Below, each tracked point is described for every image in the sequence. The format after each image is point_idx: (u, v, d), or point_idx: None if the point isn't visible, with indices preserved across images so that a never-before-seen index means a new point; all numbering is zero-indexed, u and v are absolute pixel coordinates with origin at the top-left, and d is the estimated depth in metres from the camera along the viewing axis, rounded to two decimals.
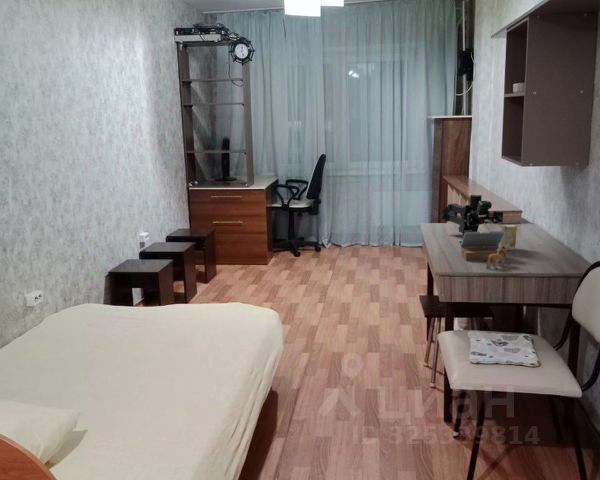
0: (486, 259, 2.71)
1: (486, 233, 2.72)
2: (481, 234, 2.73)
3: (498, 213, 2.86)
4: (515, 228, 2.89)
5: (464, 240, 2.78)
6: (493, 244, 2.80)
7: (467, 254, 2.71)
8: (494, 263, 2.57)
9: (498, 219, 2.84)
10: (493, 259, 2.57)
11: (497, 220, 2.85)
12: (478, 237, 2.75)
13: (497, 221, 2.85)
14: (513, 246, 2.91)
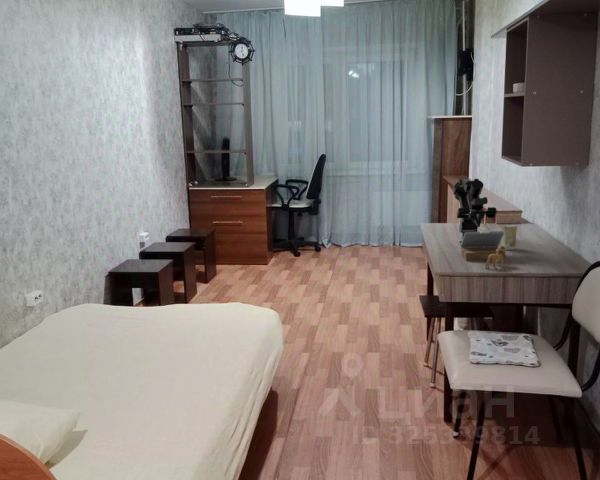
0: (486, 259, 2.71)
1: (486, 233, 2.72)
2: (481, 234, 2.73)
3: (481, 213, 2.84)
4: (515, 228, 2.89)
5: (464, 240, 2.78)
6: (493, 244, 2.80)
7: (467, 254, 2.71)
8: (493, 263, 2.57)
9: (478, 220, 2.84)
10: (492, 259, 2.56)
11: None
12: (478, 237, 2.75)
13: None
14: (513, 246, 2.91)
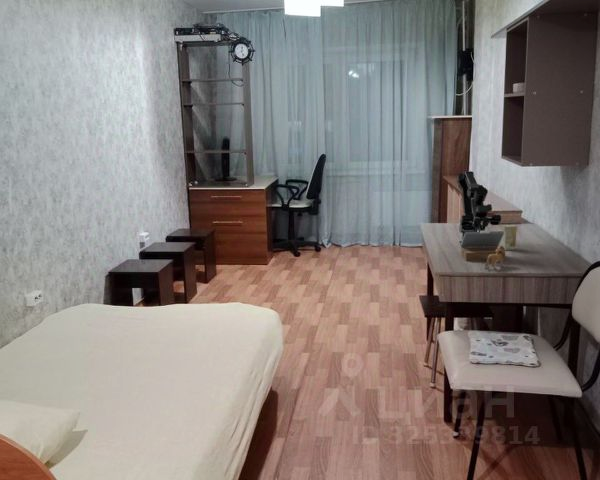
0: (486, 259, 2.71)
1: (486, 233, 2.72)
2: (481, 234, 2.73)
3: (485, 220, 2.76)
4: (515, 228, 2.89)
5: (464, 240, 2.78)
6: (493, 244, 2.80)
7: (467, 254, 2.71)
8: (493, 263, 2.56)
9: (482, 228, 2.77)
10: (492, 259, 2.56)
11: None
12: (478, 237, 2.75)
13: None
14: (513, 246, 2.91)
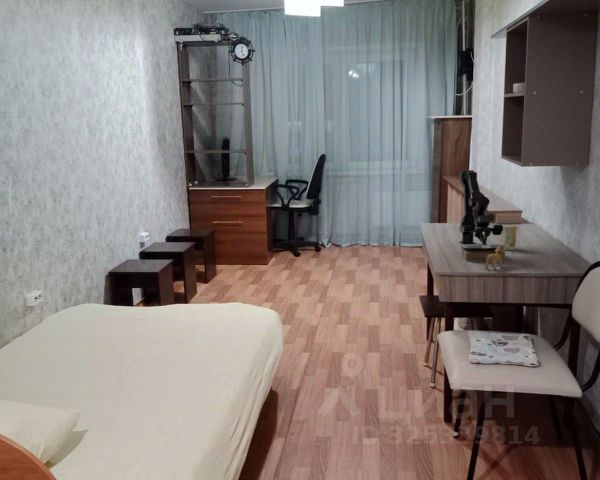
0: (486, 259, 2.71)
1: None
2: (482, 247, 2.71)
3: (487, 230, 2.73)
4: (515, 228, 2.89)
5: (465, 247, 2.77)
6: None
7: (467, 254, 2.71)
8: (493, 264, 2.56)
9: (484, 238, 2.74)
10: (492, 260, 2.56)
11: (484, 237, 2.75)
12: None
13: None
14: (513, 246, 2.91)
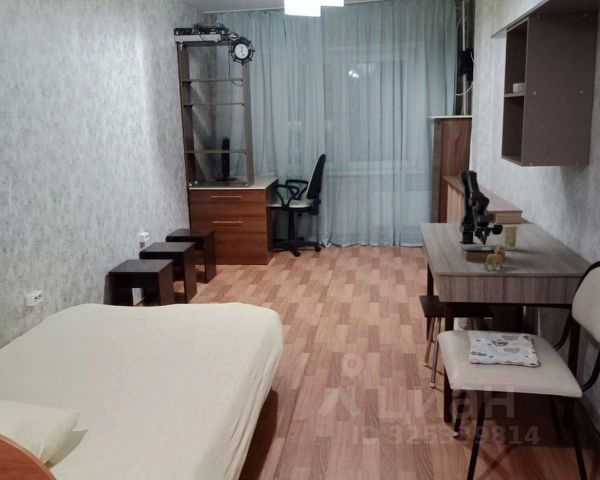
0: (486, 259, 2.71)
1: None
2: (482, 249, 2.71)
3: (487, 230, 2.73)
4: (515, 228, 2.89)
5: (465, 248, 2.77)
6: None
7: (467, 254, 2.71)
8: (492, 264, 2.56)
9: None
10: (491, 260, 2.55)
11: (483, 236, 2.75)
12: None
13: None
14: (513, 246, 2.91)
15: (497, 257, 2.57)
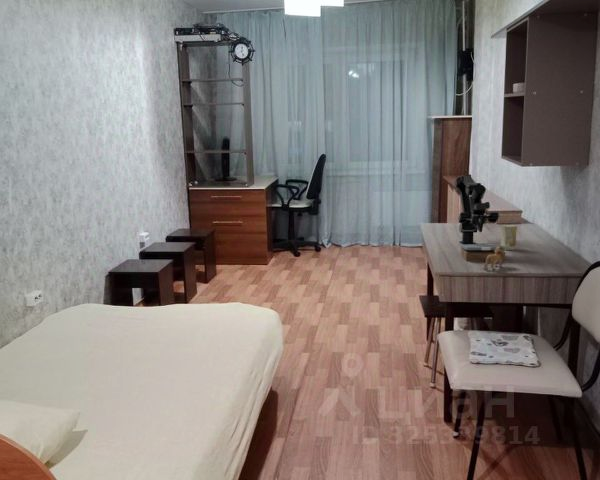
0: None
1: None
2: (482, 249, 2.71)
3: (483, 218, 2.80)
4: (515, 228, 2.89)
5: (465, 248, 2.77)
6: None
7: (467, 254, 2.71)
8: (492, 264, 2.56)
9: (480, 225, 2.81)
10: (491, 260, 2.55)
11: None
12: None
13: None
14: (513, 246, 2.91)
15: (497, 257, 2.57)
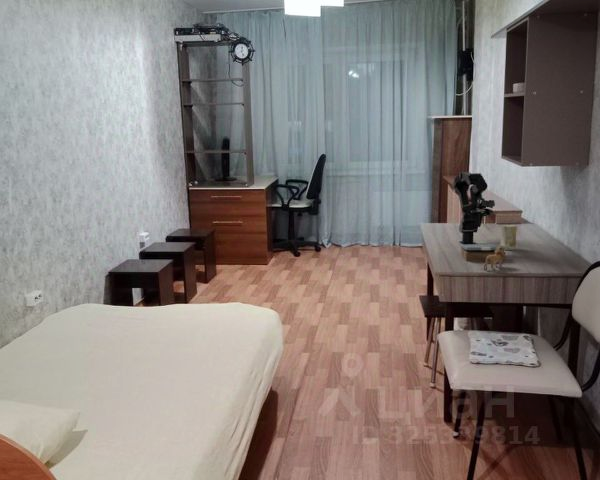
0: None
1: None
2: (482, 249, 2.71)
3: (484, 214, 2.87)
4: (515, 228, 2.89)
5: (465, 248, 2.77)
6: None
7: (467, 254, 2.71)
8: (492, 264, 2.55)
9: None
10: (491, 260, 2.55)
11: None
12: None
13: None
14: (513, 246, 2.91)
15: (497, 258, 2.56)
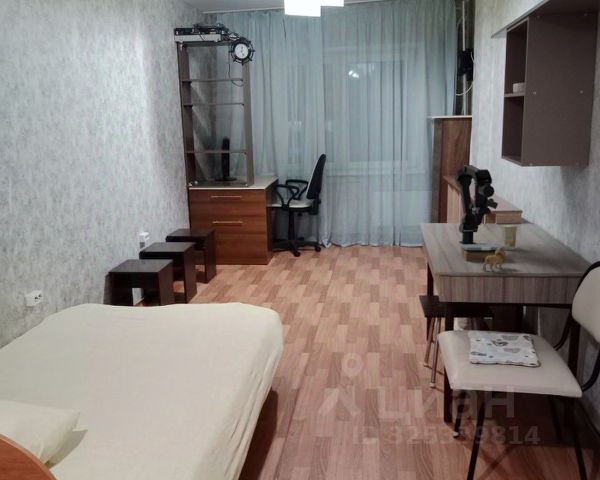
0: None
1: None
2: (482, 249, 2.71)
3: None
4: (515, 228, 2.89)
5: (465, 248, 2.77)
6: None
7: (467, 254, 2.71)
8: (491, 265, 2.54)
9: None
10: (490, 261, 2.54)
11: None
12: None
13: None
14: (513, 246, 2.91)
15: (496, 258, 2.55)
